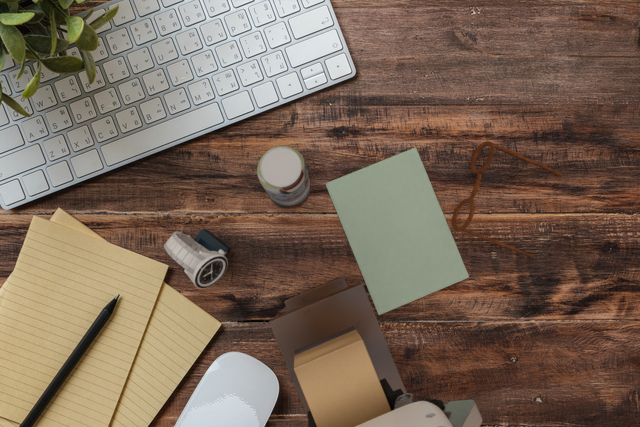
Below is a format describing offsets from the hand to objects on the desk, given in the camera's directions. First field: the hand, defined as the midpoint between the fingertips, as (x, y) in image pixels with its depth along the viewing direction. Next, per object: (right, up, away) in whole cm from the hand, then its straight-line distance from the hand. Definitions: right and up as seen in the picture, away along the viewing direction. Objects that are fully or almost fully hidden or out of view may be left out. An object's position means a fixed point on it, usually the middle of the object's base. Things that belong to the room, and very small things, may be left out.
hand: (354, 413), depth 36 cm
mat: (+8, +13, +32) cm, 35 cm away
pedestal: (-1, -1, +31) cm, 31 cm away
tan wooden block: (0, 0, +1) cm, 1 cm away
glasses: (+24, +17, +33) cm, 44 cm away
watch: (-18, +9, +31) cm, 37 cm away
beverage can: (-7, +19, +32) cm, 38 cm away
